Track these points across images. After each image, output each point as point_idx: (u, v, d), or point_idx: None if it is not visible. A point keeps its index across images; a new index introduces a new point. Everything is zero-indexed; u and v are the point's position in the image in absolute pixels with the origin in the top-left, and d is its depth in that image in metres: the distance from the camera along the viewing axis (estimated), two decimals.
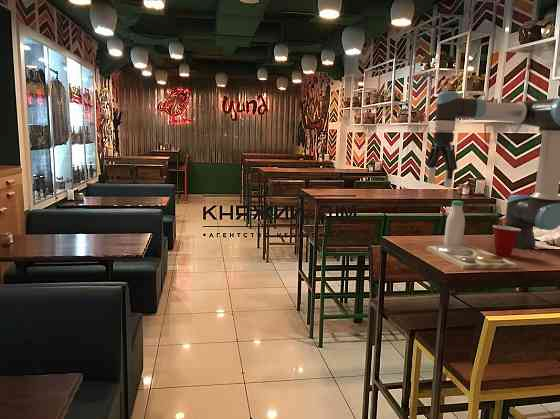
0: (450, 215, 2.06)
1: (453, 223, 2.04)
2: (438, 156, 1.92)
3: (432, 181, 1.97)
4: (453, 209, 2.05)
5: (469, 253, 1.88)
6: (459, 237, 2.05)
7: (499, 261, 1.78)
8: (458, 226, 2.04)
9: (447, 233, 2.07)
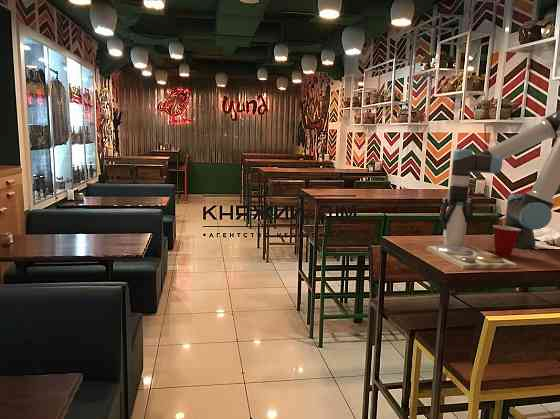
0: None
1: (453, 223, 2.04)
2: (462, 209, 2.06)
3: None
4: None
5: (469, 253, 1.88)
6: (459, 237, 2.05)
7: (499, 261, 1.78)
8: (458, 226, 2.04)
9: None
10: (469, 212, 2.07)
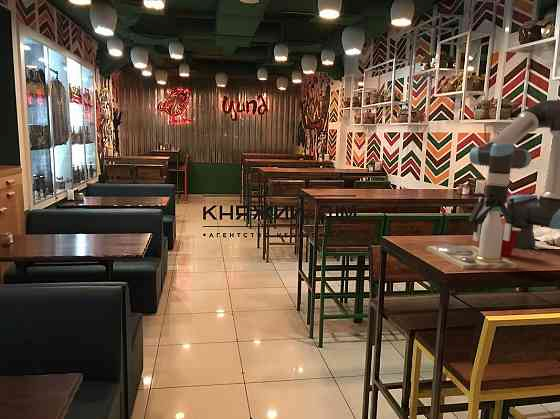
0: (486, 222, 1.79)
1: (490, 231, 1.77)
2: (503, 211, 1.80)
3: (506, 238, 1.82)
4: (490, 215, 1.79)
5: (469, 253, 1.88)
6: (497, 247, 1.78)
7: (499, 261, 1.78)
8: (496, 234, 1.77)
9: (483, 243, 1.80)
10: (512, 213, 1.81)
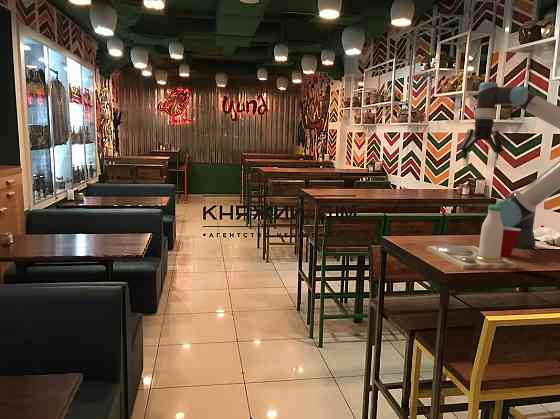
0: (486, 222, 1.79)
1: (490, 231, 1.77)
2: (489, 141, 2.11)
3: (492, 165, 2.13)
4: (490, 215, 1.79)
5: (469, 253, 1.88)
6: (497, 247, 1.78)
7: (499, 261, 1.78)
8: (496, 234, 1.77)
9: (483, 243, 1.80)
10: (497, 144, 2.12)
